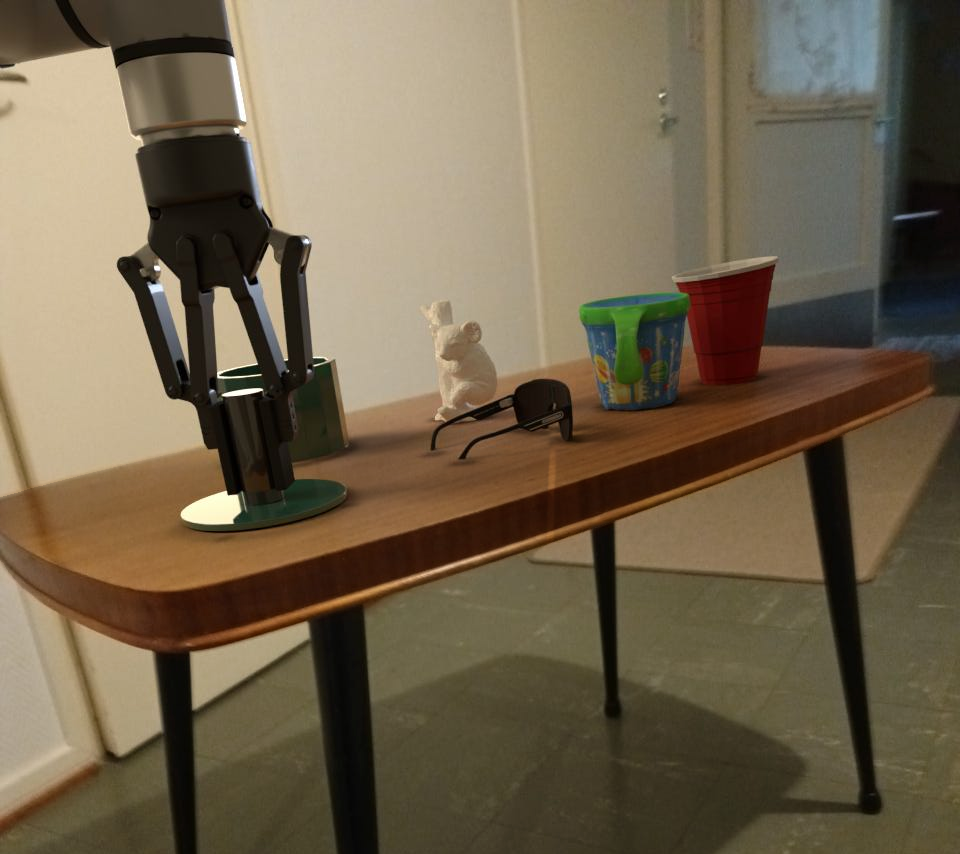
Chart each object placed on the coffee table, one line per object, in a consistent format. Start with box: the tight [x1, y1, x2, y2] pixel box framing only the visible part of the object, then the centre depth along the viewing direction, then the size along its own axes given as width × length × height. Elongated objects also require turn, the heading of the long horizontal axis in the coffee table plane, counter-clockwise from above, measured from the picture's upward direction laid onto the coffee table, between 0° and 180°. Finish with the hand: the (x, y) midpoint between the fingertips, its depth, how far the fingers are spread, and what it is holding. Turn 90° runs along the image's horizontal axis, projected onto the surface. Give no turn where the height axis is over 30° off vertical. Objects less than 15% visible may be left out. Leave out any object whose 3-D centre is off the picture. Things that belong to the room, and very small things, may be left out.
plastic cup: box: [671, 255, 780, 386], centre depth 103 cm, size 11×11×12 cm
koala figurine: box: [420, 298, 498, 425], centre depth 100 cm, size 8×7×12 cm
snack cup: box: [578, 292, 690, 412], centre depth 96 cm, size 16×10×10 cm
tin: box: [217, 356, 350, 463], centre depth 93 cm, size 11×11×8 cm
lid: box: [180, 389, 348, 532], centre depth 72 cm, size 12×12×9 cm
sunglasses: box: [430, 378, 574, 460], centre depth 86 cm, size 11×12×5 cm
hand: (261, 487), depth 73 cm, fingers closed on lid, 3 cm apart
